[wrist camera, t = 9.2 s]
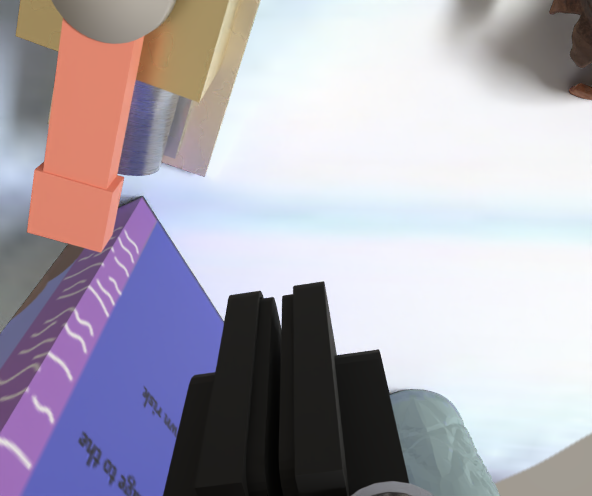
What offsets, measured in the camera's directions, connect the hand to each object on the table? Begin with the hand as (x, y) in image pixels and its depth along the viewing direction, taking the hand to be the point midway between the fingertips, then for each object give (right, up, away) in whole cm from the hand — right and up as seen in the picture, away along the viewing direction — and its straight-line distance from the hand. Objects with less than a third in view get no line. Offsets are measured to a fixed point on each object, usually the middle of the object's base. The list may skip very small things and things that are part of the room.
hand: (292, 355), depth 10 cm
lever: (-8, +9, +13) cm, 18 cm away
